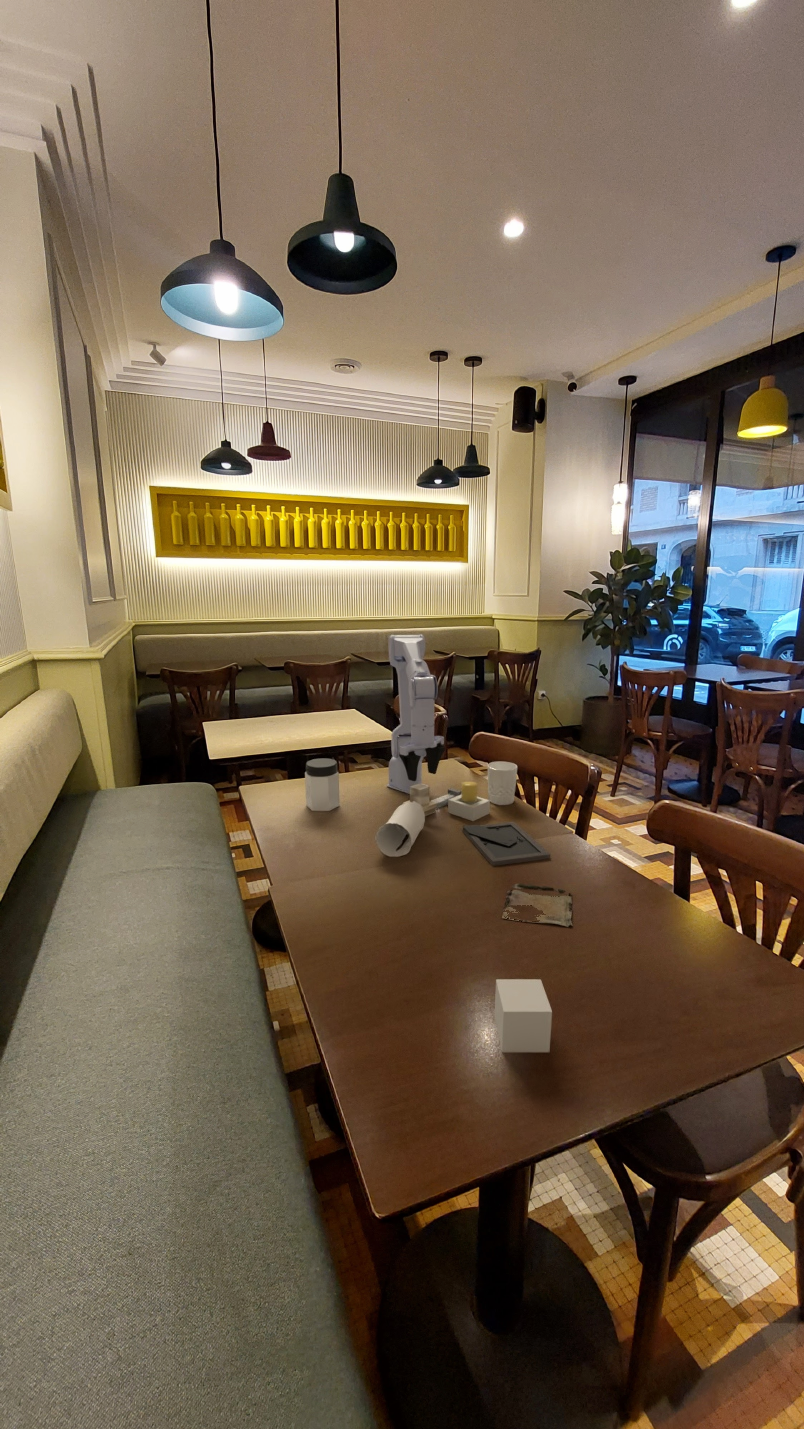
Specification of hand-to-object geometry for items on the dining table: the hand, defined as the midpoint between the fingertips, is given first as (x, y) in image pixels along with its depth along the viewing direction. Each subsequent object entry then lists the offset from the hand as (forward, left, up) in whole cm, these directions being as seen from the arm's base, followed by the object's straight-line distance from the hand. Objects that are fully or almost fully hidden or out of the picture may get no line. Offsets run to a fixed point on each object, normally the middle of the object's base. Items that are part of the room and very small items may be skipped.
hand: (422, 776), depth 146 cm
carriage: (0, -1, -10) cm, 10 cm away
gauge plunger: (+9, +8, -6) cm, 13 cm away
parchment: (+45, -18, -10) cm, 49 cm away
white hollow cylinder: (+8, -16, -10) cm, 20 cm away
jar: (-22, -15, -10) cm, 29 cm away
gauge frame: (+9, +8, -10) cm, 16 cm away
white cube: (+60, -47, -10) cm, 76 cm away
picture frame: (+26, -1, -11) cm, 28 cm away
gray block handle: (0, +4, -10) cm, 11 cm away
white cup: (+10, +21, -10) cm, 26 cm away
